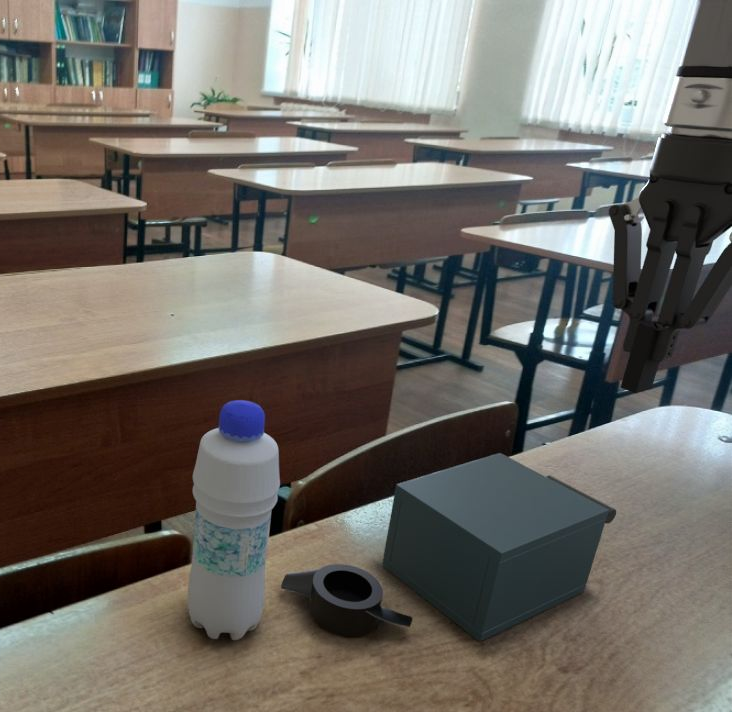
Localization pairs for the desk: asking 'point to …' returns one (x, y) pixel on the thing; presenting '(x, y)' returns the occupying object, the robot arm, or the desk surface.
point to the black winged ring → (343, 599)
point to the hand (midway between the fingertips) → (635, 387)
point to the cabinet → (492, 542)
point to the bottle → (232, 521)
